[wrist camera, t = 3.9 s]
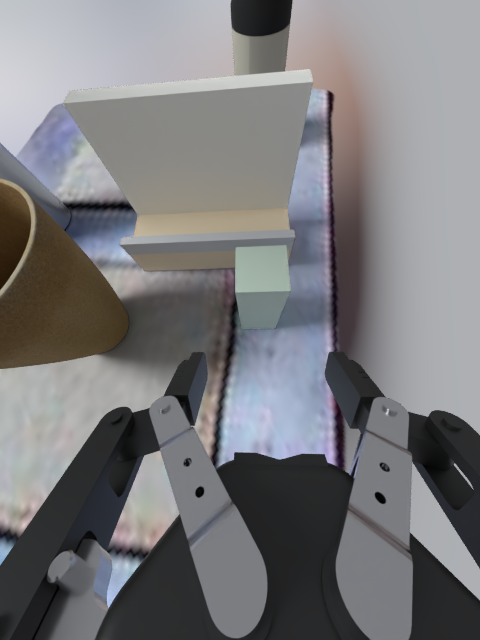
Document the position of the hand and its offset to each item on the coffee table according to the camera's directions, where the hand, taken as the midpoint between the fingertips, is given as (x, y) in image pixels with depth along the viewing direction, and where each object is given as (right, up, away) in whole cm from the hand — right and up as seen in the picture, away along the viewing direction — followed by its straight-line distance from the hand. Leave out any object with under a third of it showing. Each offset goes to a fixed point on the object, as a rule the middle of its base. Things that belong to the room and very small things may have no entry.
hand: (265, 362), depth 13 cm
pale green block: (+1, +4, +14) cm, 15 cm away
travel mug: (+2, +39, +26) cm, 47 cm away
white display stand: (-6, +15, +18) cm, 24 cm away
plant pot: (-21, +2, +15) cm, 26 cm away
